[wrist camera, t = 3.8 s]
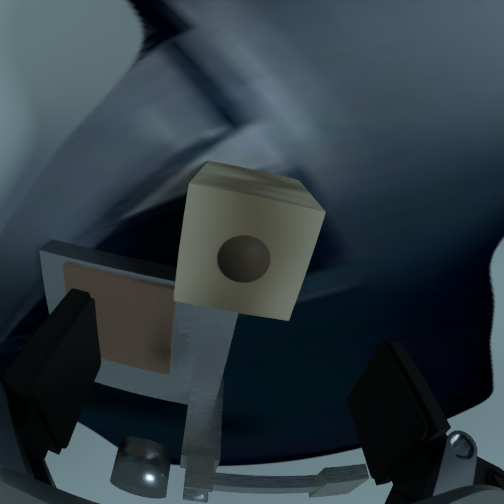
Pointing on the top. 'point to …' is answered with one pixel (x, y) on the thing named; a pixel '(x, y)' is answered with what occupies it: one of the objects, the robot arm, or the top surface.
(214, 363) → the press
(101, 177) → the top surface
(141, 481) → the press lever
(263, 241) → the maple block
